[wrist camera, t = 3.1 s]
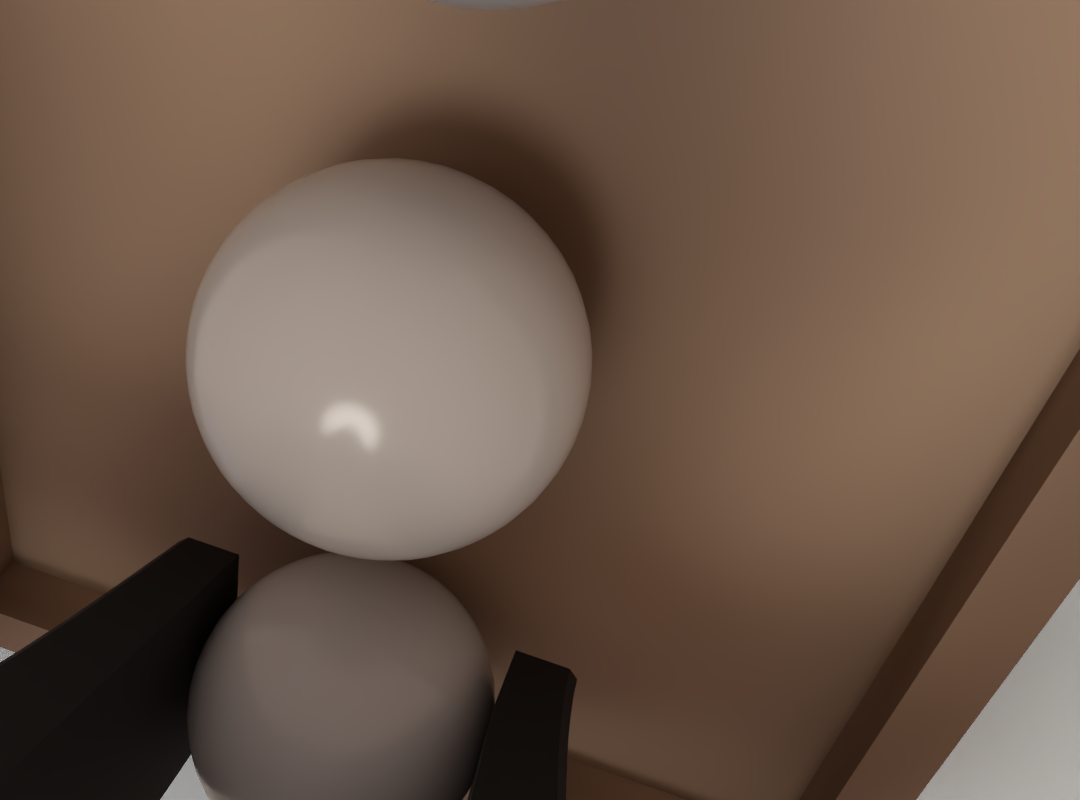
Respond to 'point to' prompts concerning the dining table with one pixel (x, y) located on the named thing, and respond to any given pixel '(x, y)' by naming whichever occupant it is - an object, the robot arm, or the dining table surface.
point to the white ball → (388, 359)
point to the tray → (609, 341)
